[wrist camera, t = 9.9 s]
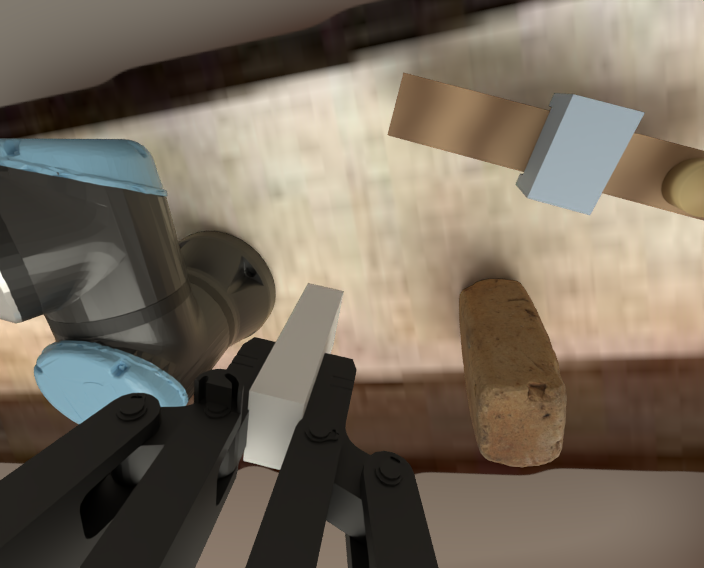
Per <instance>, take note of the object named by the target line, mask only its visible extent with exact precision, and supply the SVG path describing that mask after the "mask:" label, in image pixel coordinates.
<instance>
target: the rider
mask: <svg viewBox="0 0 704 568" xmlns="http://www.w3.org/2000/svg"><path fill="white" fill-rule="evenodd" d="M549 107H552V108H551V110H550V113H549V115H548V117H547V119H546V122H545V124H544V126H543V129H542V131H541V133H540V136H539V138H538V140H537V143H536V145H535V147H534V150H533V152H532V154H531V157H530V159H529V161H528V164H527V166H526V168H525V171H524V173H523V174H520V175H519V177H518V180H517V182H516V186H517V187H518V188H519V189H520V190H521V191H522V193H523V194H524V195H525V196H526V197H527V198H529V199H533V200H536V201H540V202H543V203H547V204H551V205H554V206H558V207H562V208H565V209H569V210H573V211H576V212H580V213H584V214H587V215H590V214H591V212H592V211H593V209H594V207H595V205H596V203H597V201H598V199H599V197H600V196H601V194H602V192H603V190H604V188H605V186H606V184H607V182H608V181H609V179H610V177H611V175H612V173H613V171H614V169H615V167H616V166H617V164H618V162H619V160H620V158H621V156H622V154H623V152H624V151H625V149H626V147H627V145H628V143H629V141H630V139H631V138H632V136H633V134H634V132H635V130H636V128H637V126H638V124H639V123H640V121H641V119H642V117H643V115H644V113H645V112H641V111H637V110H633V109H629V108H625V107H621V106H617V105H613V104H610V103H606V102H602V101H598V100H594V99H590V98H586V97H582V96H579V95H575V94H560V93H554V95H553V97H552V100H551V102H550V104H549Z"/></svg>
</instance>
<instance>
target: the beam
mask: <svg viewBox="0 0 704 568" xmlns="http://www.w3.org/2000/svg"><path fill="white" fill-rule="evenodd" d="M549 113H550V111H549V110H545V109H541V108H537V107H533V106H530V105H526V104H522V103H518V102H514V101H510V100H507V99H503V98H499V97H495V96H491V95H487V94H484V93H480V92H476V91H472V90H468V89H464V88H461V87H457V86H453V85H449V84H445V83H441V82H438V81H434V80H430V79H426V78H422V77H418V76H415V75H411V74H407V73H403V77H402V81H401V85H400V88H399V92H398V96H397V100H396V104H395V108H394V112H393V116H392V119H391V123H390V127H389V131H388V135H389V136H393V137H396V138H400V139H404V140H407V141H411V142H415V143H419V144H422V145H426V146H430V147H433V148H437V149H441V150H444V151H448V152H452V153H456V154H459V155H463V156H467V157H470V158H474V159H478V160H482V161H485V162H489V163H493V164H496V165H500V166H504V167H507V168H511V169H515V170H519V171H522V172H524V171H525V168H526V166H527V164H528V161H529V159H530V157H531V154H532V152H533V150H534V147H535V145H536V143H537V140H538V138H539V136H540V133H541V131H542V129H543V126H544V124H545V122H546V119H547V117H548V115H549ZM602 193H604V194H608V195H611V196H615V197H619V198H622V199H626V200H630V201H633V202H637V203H641V204H645V205H648V206H652V207H656V208H659V209H663V210H667V211H671V212H674V213H678V214H682V215H685V216H689V217H693V218H696V219H700V220H704V151H702V150H698V149H695V148H691V147H687V146H683V145H679V144H675V143H672V142H668V141H664V140H660V139H656V138H652V137H649V136H645V135H641V134H637V133H634V134H633V136H632V138H631V139H630V141H629V143H628V145H627V147H626V149H625V151H624V152H623V154H622V156H621V158H620V160H619V162H618V164H617V166H616V167H615V169H614V171H613V173H612V175H611V177H610V179H609V181H608V182H607V184H606V186H605V188H604V190H603V192H602Z"/></svg>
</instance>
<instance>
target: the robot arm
mask: <svg viewBox="0 0 704 568" xmlns="http://www.w3.org/2000/svg"><path fill="white" fill-rule="evenodd" d="M166 196H168V195H167V192H166V190H164V189H163V186H162V183H161V180H160V178H159V175H158V172H157V169H156V166H155V163H154V160H153V157H152V155H151V154H150V152H149V151H148V150H147V149H146V148H145V147H144V146H143V145H141V144H139V143H138V142H135V141H132V140H126V139H0V319H2V320H6V321H9V322H13V323H20V322H23V321H26V320H29V319H32V318H34V317H37V316H40V315H43V314H44V316H45V318H46V320H47V322H48V324H49V326H50V328H51V331H52V333H53V335H54V337H55V340H56V342H54V343H52V344H50V345H48V346H47V347H46V348H44V349H43V351H42V354H41V355H40V356H39V357H38V359H37V362H36V365H35V367H34V376H35V380H36V382H37V385H38V387H39V389H40V390H41V392H42V393H43V395H44V396H45V397H46V399H47V400H48V401H49V402H50V403H51V404H52V405H53V406H54V407H55V408H56V409H57V410H59V411H60V412H61V413H62V414H64V415H65V416H66V417H68V418H69V419H71V420H72V421H74V422H76V423H78V424H79V425H78V426H76V427H75V428H74V429H72V430H71V431H69V432H68V433H67V434H65V435H64V436H62V437H61V438H59V439H58V440H57V441H55V442H54V443H52V444H51V445H50V446H48V447H47V448H45V449H44V450H42V451H41V452H40V453H38V454H37V455H35V456H34V457H33V458H31V459H30V460H28V461H27V462H26V463H24V464H23V465H22V466H20V467H19V468H17V469H16V470H14V471H13V472H11V473H10V474H9V475H7V476H6V477H4V478H3V479H2V480H0V568H79V567H80V568H195V567H196V564H197V562H198V560H199V558H200V556H201V553H202V551H203V549H204V547H205V545H206V542H207V540H208V538H209V536H210V534H211V531H212V529H213V527H214V525H215V523H216V520H217V518H218V516H219V514H220V512H221V510H222V507H223V505H224V503H225V501H226V499H227V496H228V494H229V492H230V490H231V488H232V485H233V483H234V481H235V479H236V475H237V471H238V462H239V460H240V458H241V456H242V454H243V452H244V460H243V461H247V462H251V463H255V464H259V465H263V466H267V467H271V468H275V469H279V470H280V472H279V475H278V477H277V480H276V483H275V486H274V489H273V492H272V494H271V497H270V500H269V503H268V506H267V508H266V511H265V514H264V517H263V520H262V522H261V525H260V528H259V531H258V534H257V537H256V539H255V542H254V545H253V548H252V551H251V554H250V556H249V559H248V562H247V565H246V567H245V568H316V566H317V561H318V556H319V551H320V546H321V542H322V537H323V532H324V527H325V522H326V520H327V521H328V522H329V523H331V524H332V525H334V526H336V527H337V528H338V529H340V530H341V531H343V532H345V534H346V535H345V536H346V550H347V562H348V568H438V564H437V560H436V557H435V553H434V549H433V545H432V541H431V537H430V533H429V529H428V525H427V522H426V518H425V514H424V510H423V506H422V502H421V499H420V495H419V491H418V487H417V483H416V479H415V475H414V473H413V470H412V468H411V466H410V465H409V464H408V463H407V461H406V460H405V459H404V458H402V457H401V456H399V455H397V454H395V453H392V452H387V451H381V452H375V453H374V454H372V455H369V454H367V453H365V452H364V451H362V450H360V449H359V448H357V447H356V446H355V445H354V444H353V443H352V442H351V441H350V439H349V438H348V436H347V433H346V430H345V425H346V419H347V414H348V409H349V404H350V399H351V395H352V390H353V385H354V380H355V375H356V367H355V364H354V362H353V359H349V358H345V357H341V356H337V355H332V354H331V351H332V347H333V344H334V339H335V333H336V328H337V323H338V318H339V313H340V308H341V303H342V298H343V293H344V291H341V290H336V289H332V288H327V287H323V286H319V285H314V284H310V283H308V284H307V286H306V288H305V290H304V292H303V293H302V295H301V297H300V299H299V301H298V303H297V304H296V306H295V308H294V310H293V312H292V314H291V315H290V317H289V319H288V321H287V323H286V325H285V326H284V328H283V330H282V332H281V334H280V336H279V337H278V339H277V341H276V342H273V341H269V340H265V339H260V338H256V337H254V338H252V339H251V340H249V341H248V342H246V343H244V344H243V345H242V347H241V348H240V350H239V351H238V353H237V355H236V356H235V357H234V359H233V360H232V363H230V365H229V366H228V368H227V369H215V370H212V368H213V367H214V366H215V364H216V363H217V362H218V360H219V359H220V358H221V356H222V355H223V354H224V352H225V351H226V350H227V348H228V347H230V346H231V345H233V344H235V343H237V342H239V341H240V340H242V339H245V338H247V337H249V336H251V335H252V334H254V333H255V332H256V331H258V330H259V329H260V328H261V327H262V325H263V324H264V323H265V321H266V320H267V318H268V317H269V315H270V314H271V312H272V310H273V307H274V303H275V285H274V281H273V277H272V275H271V272H270V270H269V268H268V266H267V265H266V263H265V262H264V260H263V259H262V258H261V257H260V255H259V254H258V253H257V252H256V251H255V250H254V249H253V248H251V247H250V246H249V245H248V244H246V243H245V242H243V241H242V240H240V239H238V238H236V237H234V236H231V235H229V234H225V233H222V232H215V231H204V232H198V233H195V234H192V235H190V236H188V237H186V238H184V239H183V240H181V241H179V242H178V239H177V236H176V232H175V228H174V224H173V221H172V217H171V213H170V209H169V206H168V202H167V198H166ZM193 394H194V404H192V405H188V406H186V404H187V403H188V401H189V399H190V398H191V397H192V395H193Z"/></svg>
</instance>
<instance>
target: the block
mask: <svg viewBox="0 0 704 568" xmlns="http://www.w3.org/2000/svg"><path fill="white" fill-rule="evenodd" d="M459 320H460V334H461V346H462V357H463V364H464V376H465V383H466V390H467V396H468V403H469V410H470V415H471V419H472V424H473V427H474V432H475V436H476V440H477V444H478V447H479V449H480V452H481V453H482V455H483V456H484V457H485V458H486V459H487V460H490V461H493V462H498V463H503V464H506V465H508V466H515V467H526V466H539V465H541V464H546V463H547V462H551V461H553V460H554V459H555V458H557V457H558V456H559V454H560V451H561V449H562V443H563V435H564V427H565V422H566V403H567V394H566V387H565V385H564V382H563V381H562V380H561V376H560V372H559V364H558V360H557V358H556V354H555V352H554V350H553V348H552V345H551V342H550V339H549V336H548V334H547V332H546V330H545V328H544V326H543V324H542V321H541V319H540V317H539V315H538V312H537V310H536V308H535V306H534V304H533V302H532V300H531V298H530V297H529V295H528V293H527V292H526V290H525V289H524V287H523V286H522V285H521V283H520V282H518V281H514V280H506V279H486V280H481V281H478V282H476V283H475V284H474V285H472V286H470V287H468V288H466V289H464V290H462V292H461V294H460V298H459Z"/></svg>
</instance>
